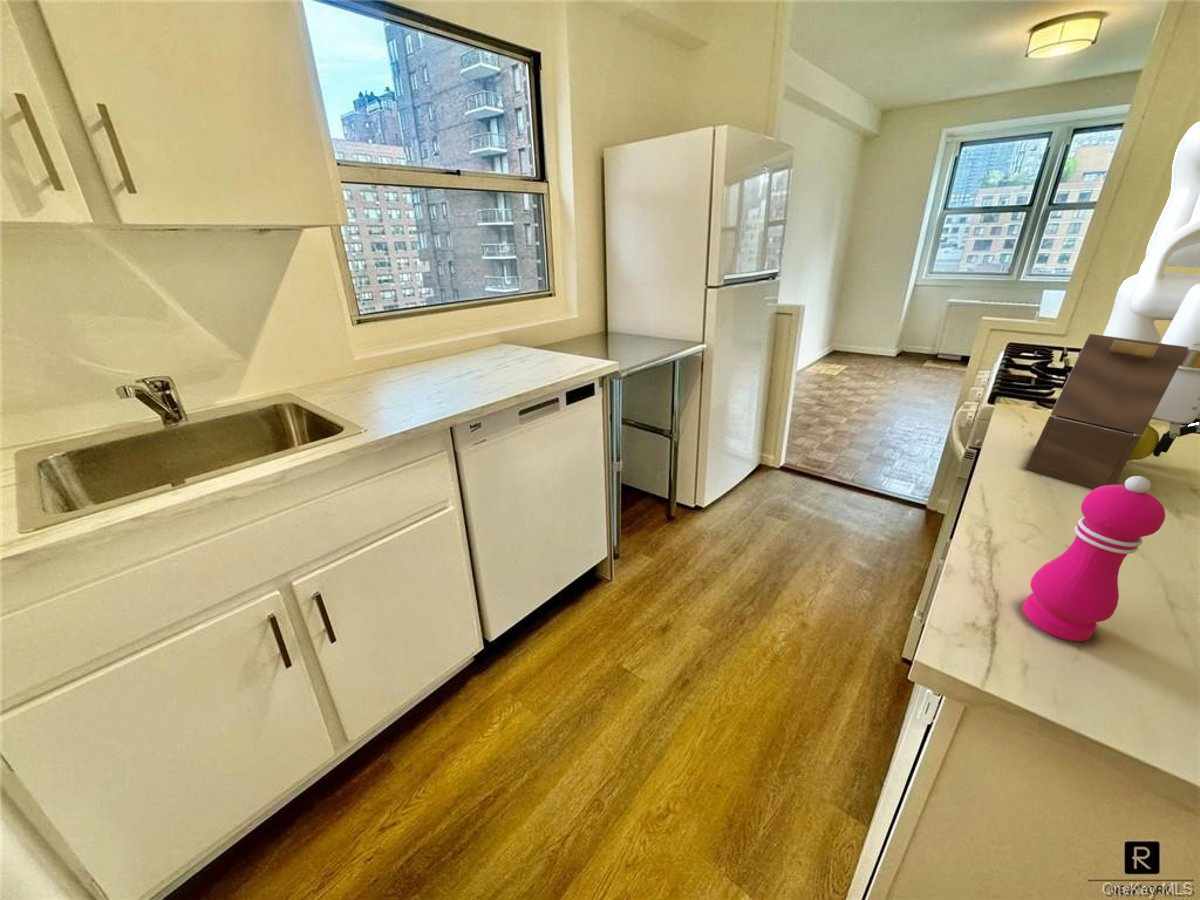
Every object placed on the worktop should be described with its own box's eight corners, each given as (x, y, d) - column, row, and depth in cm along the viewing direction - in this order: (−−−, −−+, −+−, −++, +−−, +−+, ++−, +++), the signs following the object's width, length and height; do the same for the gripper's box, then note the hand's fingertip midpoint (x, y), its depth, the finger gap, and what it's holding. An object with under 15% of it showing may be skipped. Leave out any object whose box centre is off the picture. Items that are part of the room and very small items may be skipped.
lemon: (1100, 457, 95) (1120, 420, 92) (1115, 452, 97) (1135, 416, 94) (1136, 470, 91) (1159, 431, 87) (1151, 464, 93) (1174, 427, 89)
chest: (1037, 447, 99) (1060, 398, 94) (1114, 467, 92) (1144, 415, 87) (1024, 469, 91) (1049, 416, 86) (1108, 493, 83) (1140, 437, 79)
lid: (1089, 334, 83) (1091, 326, 79) (1187, 348, 76) (1196, 340, 72) (1050, 414, 86) (1050, 410, 82) (1141, 435, 79) (1147, 432, 74)
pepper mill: (1002, 598, 61) (1075, 459, 52) (1061, 599, 61) (1143, 460, 52) (1048, 644, 55) (1140, 495, 45) (1113, 646, 54) (1218, 497, 45)
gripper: (1259, 363, 81) (1198, 458, 90) (1119, 343, 92) (1076, 429, 101) (1264, 373, 77) (1199, 471, 85) (1116, 351, 88) (1071, 440, 96)
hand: (1133, 447), depth 93 cm, fingers closed on lemon, 5 cm apart
